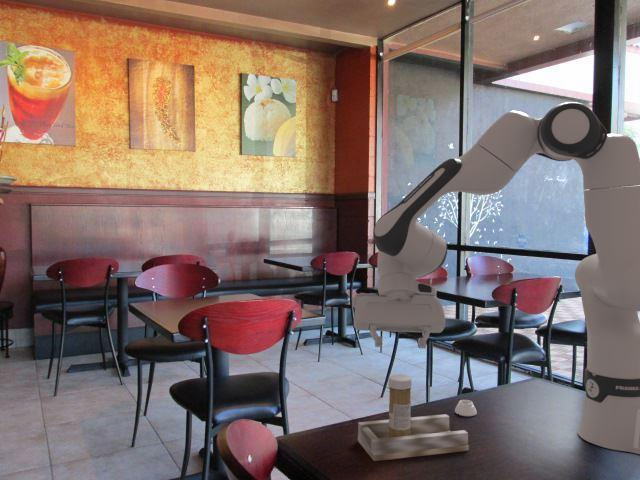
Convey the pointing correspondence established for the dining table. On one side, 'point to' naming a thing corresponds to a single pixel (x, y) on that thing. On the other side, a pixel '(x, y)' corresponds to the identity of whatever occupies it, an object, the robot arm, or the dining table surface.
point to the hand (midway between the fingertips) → (400, 346)
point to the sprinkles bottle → (399, 406)
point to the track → (411, 438)
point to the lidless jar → (465, 408)
